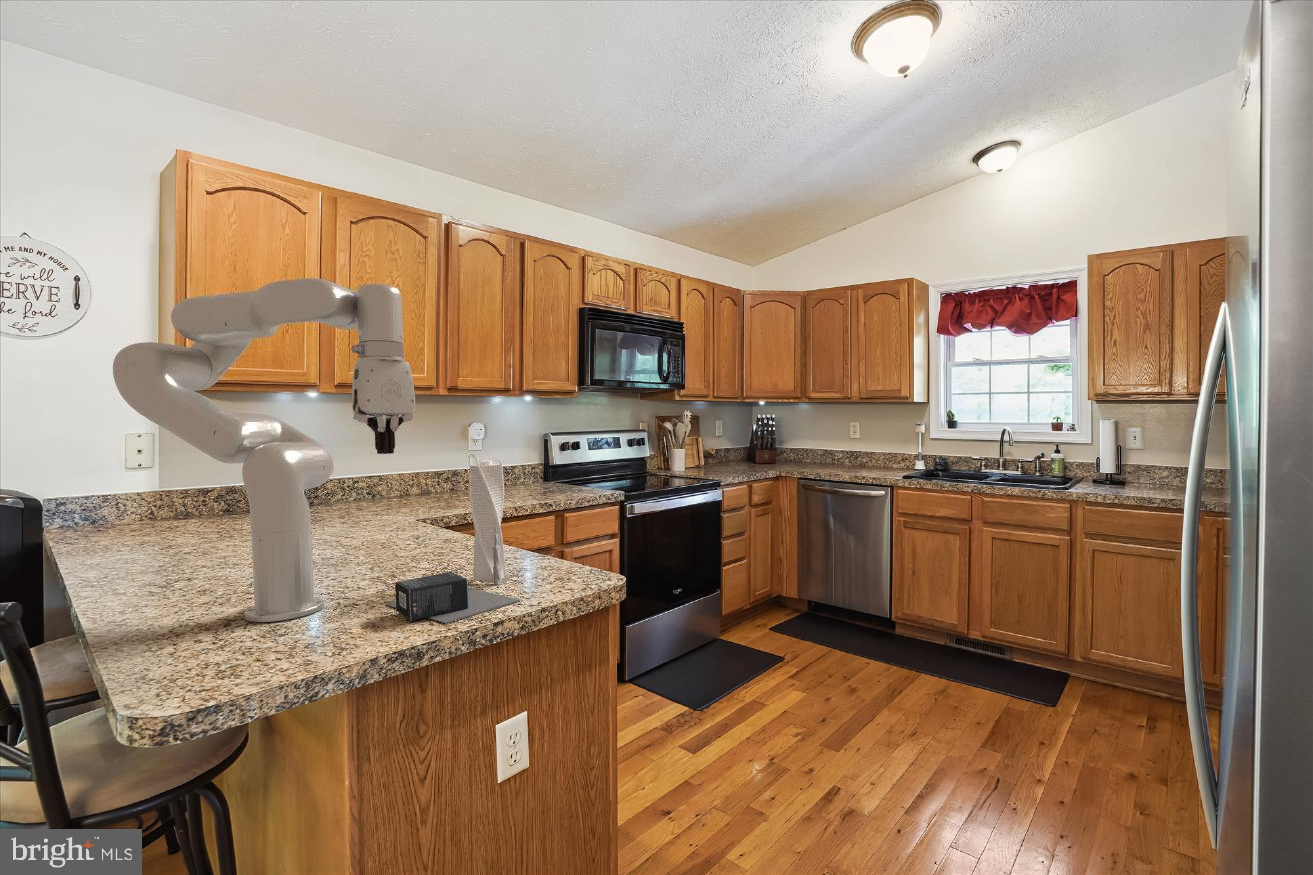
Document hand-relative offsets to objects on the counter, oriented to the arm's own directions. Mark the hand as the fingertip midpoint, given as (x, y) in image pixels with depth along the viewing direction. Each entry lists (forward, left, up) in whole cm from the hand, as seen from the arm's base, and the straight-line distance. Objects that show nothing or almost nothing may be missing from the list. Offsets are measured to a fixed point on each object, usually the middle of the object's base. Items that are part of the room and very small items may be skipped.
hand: (385, 453), depth 113 cm
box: (+6, -2, -26) cm, 27 cm away
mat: (+6, +9, -29) cm, 31 cm away
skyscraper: (-3, +24, -30) cm, 38 cm away
